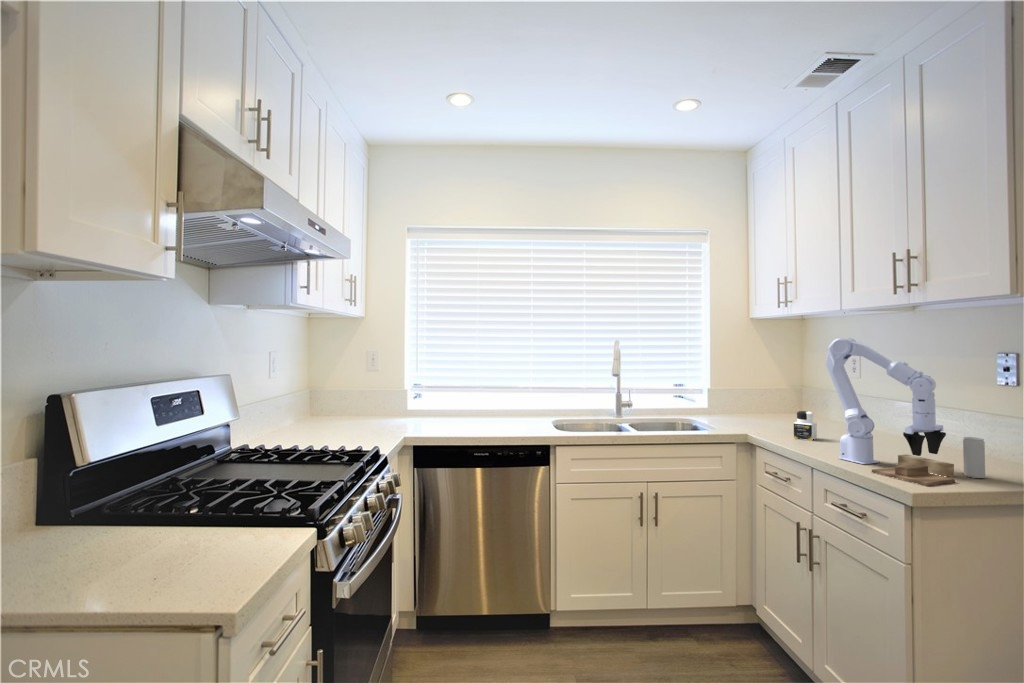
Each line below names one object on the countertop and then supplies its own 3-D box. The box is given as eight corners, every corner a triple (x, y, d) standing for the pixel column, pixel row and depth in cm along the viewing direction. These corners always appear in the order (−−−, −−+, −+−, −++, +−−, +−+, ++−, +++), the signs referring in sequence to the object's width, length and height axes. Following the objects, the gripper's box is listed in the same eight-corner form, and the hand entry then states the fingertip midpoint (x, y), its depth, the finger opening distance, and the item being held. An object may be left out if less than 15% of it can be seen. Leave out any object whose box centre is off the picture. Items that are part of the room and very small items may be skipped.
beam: (898, 467, 164) (897, 455, 164) (906, 466, 165) (906, 454, 165) (944, 477, 150) (944, 465, 150) (954, 476, 151) (953, 464, 151)
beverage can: (978, 479, 146) (977, 440, 147) (959, 475, 151) (959, 437, 151) (989, 478, 148) (988, 439, 148) (970, 474, 152) (969, 436, 152)
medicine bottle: (793, 438, 212) (793, 411, 212) (798, 436, 217) (798, 409, 217) (812, 441, 207) (811, 413, 207) (817, 438, 212) (816, 411, 212)
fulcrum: (871, 472, 156) (871, 461, 156) (898, 469, 159) (898, 458, 159) (926, 486, 141) (926, 474, 141) (955, 482, 144) (954, 470, 144)
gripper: (921, 415, 152) (922, 458, 151) (953, 413, 156) (954, 455, 156) (897, 412, 158) (898, 454, 158) (929, 410, 162) (930, 450, 162)
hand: (924, 454), depth 157 cm, fingers open, 7 cm apart
